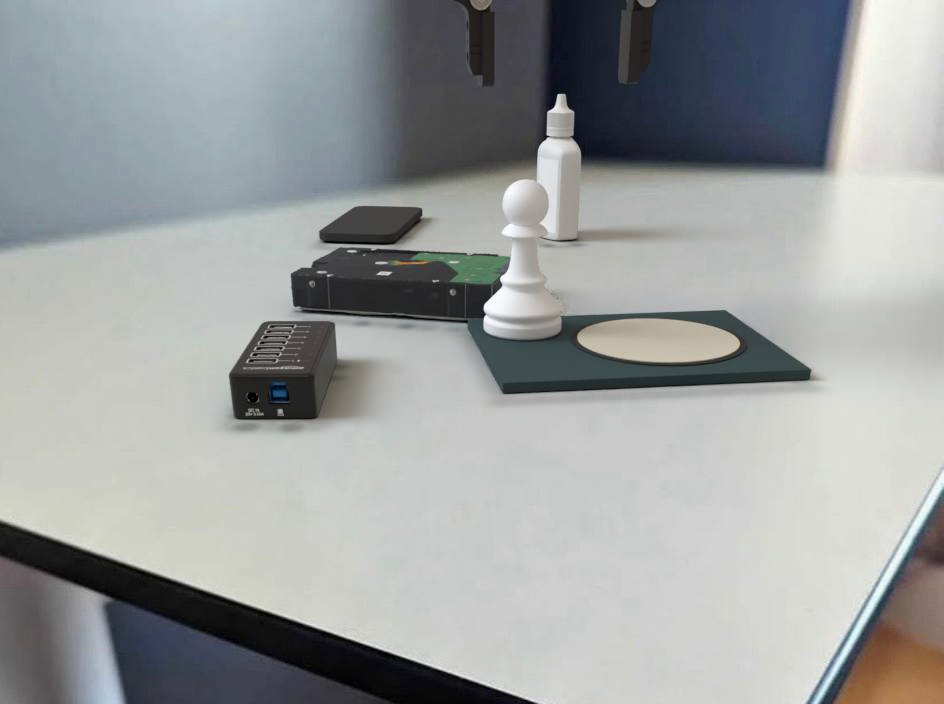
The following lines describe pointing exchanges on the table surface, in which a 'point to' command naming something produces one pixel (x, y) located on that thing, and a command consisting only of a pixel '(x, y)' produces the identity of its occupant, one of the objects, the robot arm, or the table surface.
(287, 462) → the table surface
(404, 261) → the disk drive
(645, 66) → the robot arm
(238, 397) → the multiport hub
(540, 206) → the chess pawn
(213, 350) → the table surface
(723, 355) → the drawing mat
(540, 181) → the eye dropper bottle
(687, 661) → the table surface
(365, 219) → the phone
